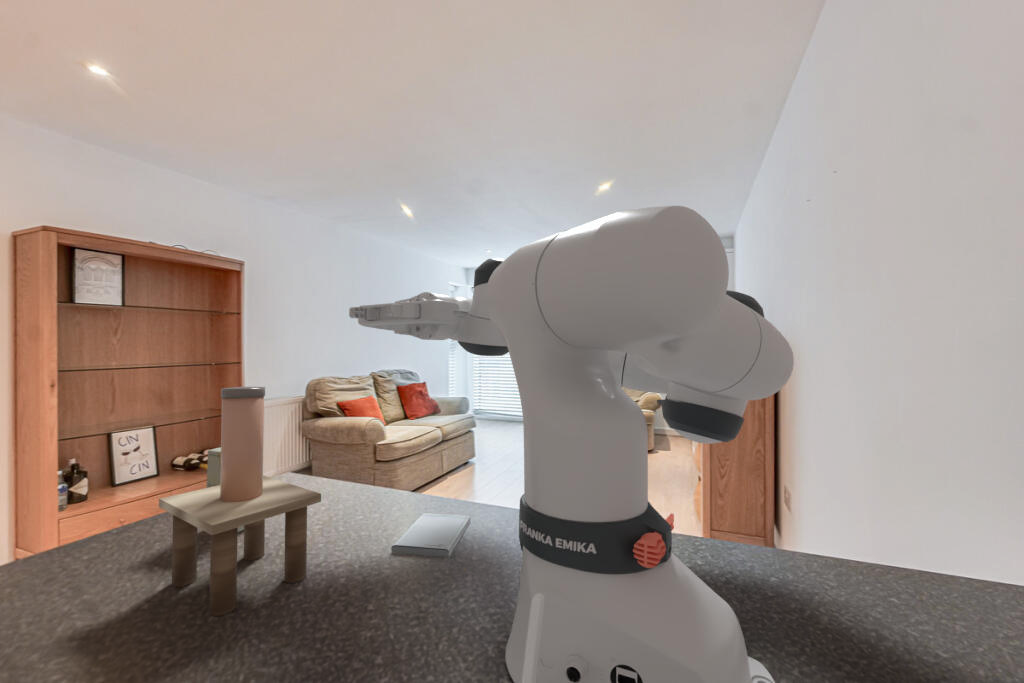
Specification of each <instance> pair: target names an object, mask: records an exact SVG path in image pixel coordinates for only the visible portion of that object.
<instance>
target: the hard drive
mask: <svg viewBox="0 0 1024 683" xmlns="http://www.w3.org/2000/svg"><path fill="white" fill-rule="evenodd" d="M469 522H470V523H471V516H469V515H466V514H465V515H464V514H463V515H462V514H450V513H449V514H447V513H431V512H428V513H427V512H425V513H424V512H423V513H421V515H420V516H419V517H418V518H417V519H416V520H415V521H414V522H413V523H412V524H411V525H410V526H409V527H408V528H407V529H406V531H405V532H403V534H401V536H400V537H398V539H396V541H395V542H394V544H392V546H391V548H390V549H391V554H401V555H416V556H417V555H418V556H419V555H420V556H430V557H431V556H432V557H445V558H446V557H447V558H450V556H451V555H452V554H453V551H454V550H455V548H456V547H457V545H458V543H459V541H460V540H461V538H462V536H463V534H464V533H465V531H466V530H467V529H468V526H469V525H470V523H469ZM468 524H469V525H468ZM465 529H466V530H465Z"/></svg>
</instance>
